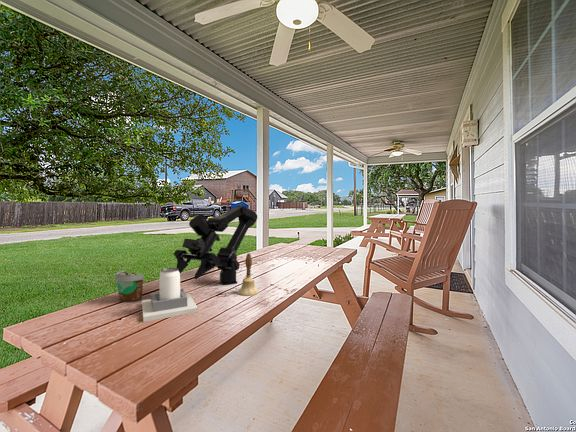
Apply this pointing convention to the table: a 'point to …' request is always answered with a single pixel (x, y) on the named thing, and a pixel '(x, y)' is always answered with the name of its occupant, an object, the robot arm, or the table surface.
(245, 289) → the hand bell
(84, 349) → the table surface
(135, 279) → the food container
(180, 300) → the socket board
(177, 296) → the can
